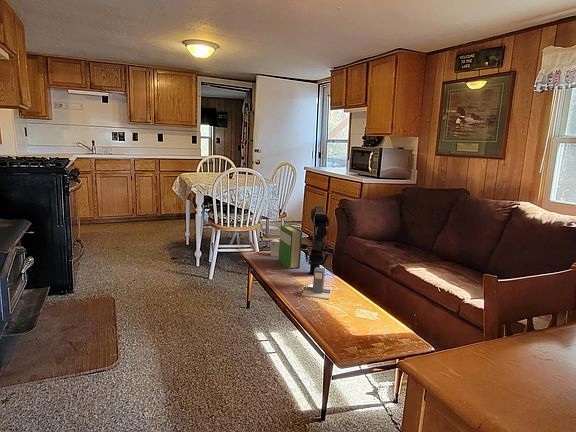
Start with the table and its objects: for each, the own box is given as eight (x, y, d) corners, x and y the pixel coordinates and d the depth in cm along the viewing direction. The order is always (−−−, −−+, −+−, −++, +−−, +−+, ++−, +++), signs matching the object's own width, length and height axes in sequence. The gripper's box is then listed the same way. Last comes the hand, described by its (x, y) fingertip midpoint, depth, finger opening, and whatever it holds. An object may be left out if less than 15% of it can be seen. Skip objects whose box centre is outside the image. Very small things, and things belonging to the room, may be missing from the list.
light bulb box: (286, 254, 272) (287, 239, 270) (285, 257, 266) (286, 242, 264) (271, 253, 273) (272, 238, 271) (270, 256, 267) (271, 240, 265)
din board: (307, 285, 216) (307, 284, 216) (332, 288, 213) (332, 287, 213) (302, 295, 200) (302, 294, 200) (329, 299, 198) (329, 298, 197)
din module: (314, 288, 210) (315, 267, 208) (323, 289, 209) (325, 268, 207) (312, 292, 204) (314, 270, 202) (321, 293, 203) (323, 271, 201)
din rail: (306, 288, 209) (306, 286, 209) (330, 292, 206) (330, 289, 206) (305, 290, 207) (305, 287, 207) (330, 293, 204) (330, 291, 204)
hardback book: (299, 268, 244) (302, 231, 240) (288, 269, 241) (291, 231, 237) (288, 260, 260) (291, 225, 256) (278, 260, 257) (280, 225, 253)
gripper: (301, 233, 210) (296, 262, 210) (335, 239, 207) (331, 268, 207) (303, 233, 221) (299, 260, 221) (336, 238, 218) (331, 266, 218)
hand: (314, 263), depth 216 cm, fingers open, 9 cm apart
